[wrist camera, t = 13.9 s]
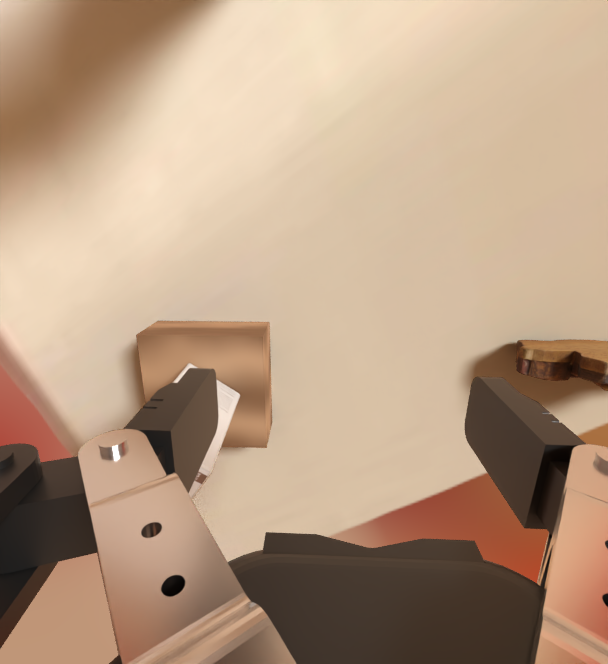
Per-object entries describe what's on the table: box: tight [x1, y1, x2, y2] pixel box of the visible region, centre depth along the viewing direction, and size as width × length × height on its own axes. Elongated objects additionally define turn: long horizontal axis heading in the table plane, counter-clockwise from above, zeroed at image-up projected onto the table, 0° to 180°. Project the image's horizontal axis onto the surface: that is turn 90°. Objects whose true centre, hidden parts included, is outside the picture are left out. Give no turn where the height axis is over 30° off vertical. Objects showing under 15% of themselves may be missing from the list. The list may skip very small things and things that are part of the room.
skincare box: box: [173, 363, 240, 499], centre depth 31 cm, size 6×4×12 cm
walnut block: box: [136, 321, 272, 448], centre depth 39 cm, size 12×12×5 cm
